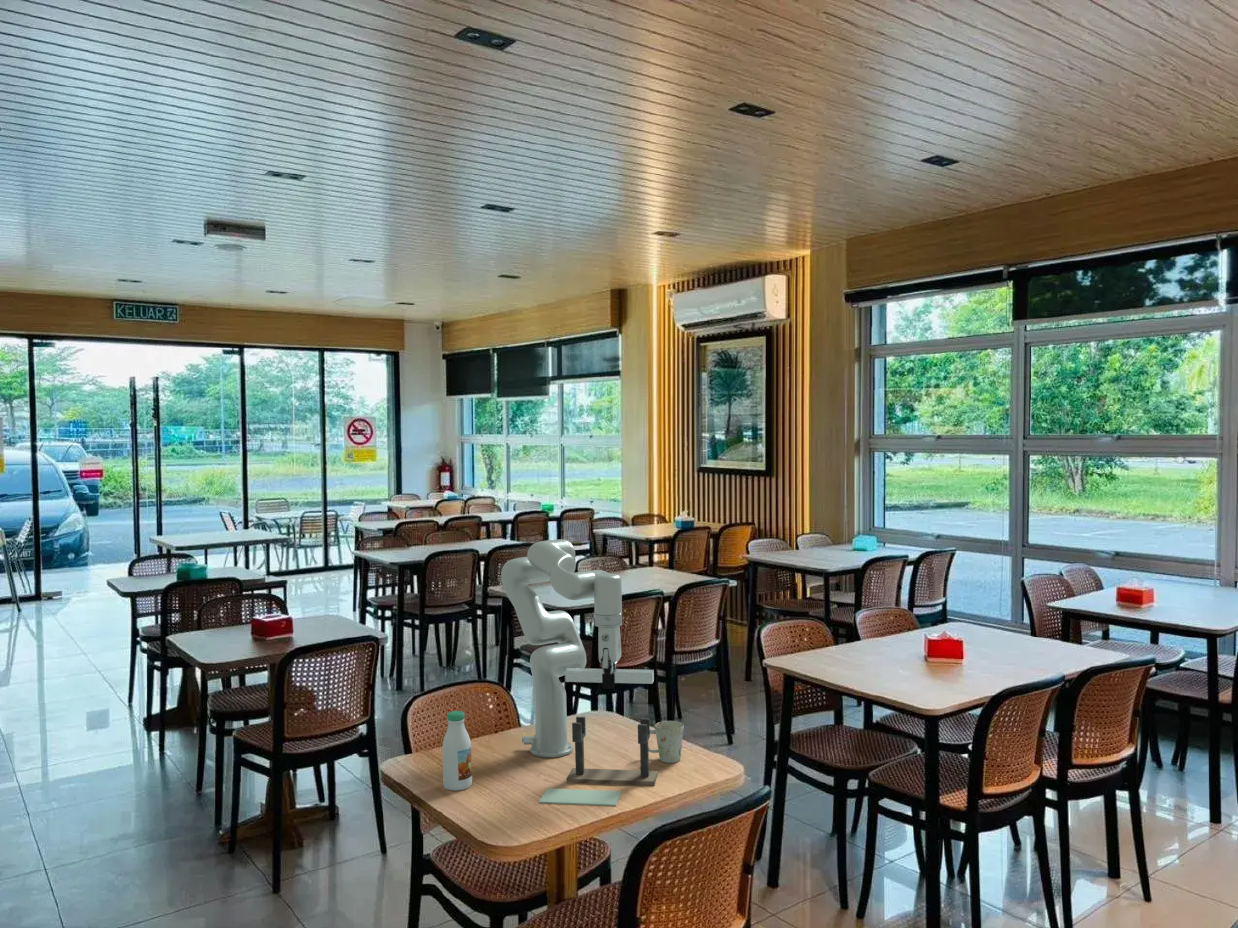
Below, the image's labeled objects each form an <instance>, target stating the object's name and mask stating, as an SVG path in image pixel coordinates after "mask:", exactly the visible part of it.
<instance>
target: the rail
mask: <svg viewBox="0 0 1238 928" xmlns="http://www.w3.org/2000/svg"><path fill="white" fill-rule="evenodd" d="M654 670H655V669H632V668H631V669H630V668H627V669H626V668H624V669H623V668H621V669H620V668H616V669H613V674H614V683H617V684H649V685H652V684H653V683H654V680H655V676H654V675H655V673H654V672H655V671H654ZM602 674H603V673H602V668H586V667H585V668H567V669H566V671H565V675H564V676H565V677H564V679H565V681H564V682H566V683H570V682H571V683H599V684H600V683H601V684H602Z"/></svg>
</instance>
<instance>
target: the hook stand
mask: <svg viewBox="0 0 1238 928" xmlns="http://www.w3.org/2000/svg"><path fill="white" fill-rule="evenodd" d="M650 722H651V721H650V717H649V718H647V717H641V718H640V723H638V724H637V744H639V751H640V752H639V754H640V755H639V756H640V760H639V761H640V763H639V764H640V769H615V768H614V769H612V768H611V769H608V768H585V747H584V744H585V743H584V740H585V739H584V738H585V737H586V735H587V734H586V732H587V731H586V730H587V729H586V716H576V717H575V722H572V723H571V730H572V731H571V734H572V736H571V737H572V742H573V743H574V750H575V751H574V755H575V756H574V757H575V759H574V760H575V761H574V762H575V767H573V768H571V770H570V772H569V773H568V775H567V777H566V779H565V780H566V783H567V784H587V785H588V784H589V785H611V786H612V785H617V786H641V787H642V786H643V787H644V786H645V787H646V786H647V787H648V786H649V787H654V786H655V784H656V781H657V778H658V773H659V772H658V770H650V762H649V761H650V756H649V755H650V754H649V753H650V752H649V750H648V747H649V739H650V737H651V734H650V730H651V729H650V728H651V725H650V724H651V723H650Z"/></svg>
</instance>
